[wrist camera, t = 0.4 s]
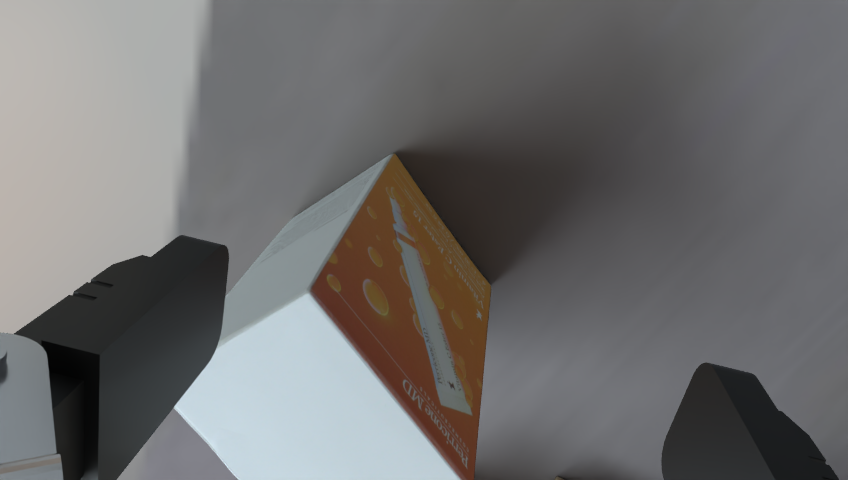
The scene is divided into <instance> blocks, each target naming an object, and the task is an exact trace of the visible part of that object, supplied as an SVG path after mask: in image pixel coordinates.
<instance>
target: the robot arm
mask: <svg viewBox="0 0 848 480" xmlns="http://www.w3.org/2000/svg"><path fill="white" fill-rule="evenodd" d="M228 263H229V253H228V249H227V247H226V246H225V245H221V244H217V243H213V242H209V241H205V240H200V239H196V238H192V237H188V236H184V235H181V236H178V237H177V238H175V239H174V240H173V241H171V242H170V243H169V244H168V245H166V246H165V247H164V248H162V249H161V250H160V251H158V252H157V253H156V254H154V255H153V256H152V257H148V256H144V255H141V256H138V257H135V258H132V259H129V260H125V261H122V262H119V263H116V264H113V265H111V266H110V267H108V268H107V269H106V270H104V271H103V272H101V273H100V274H98V275H97V276H96V277H94V278H93V279H92V280H91V282H90V283H88V282H87V283H86V284H84V285H83V286H81V287H80V288H79V289H77V290H76V291H74V293H73V295H68V296H67V297H66V298H64V299H63V300H61V301H60V302H58V303H57V304H56V305H54V306H53V307H51V308H50V309H48V310H47V311H46V312H44V313H43V314H41V315H40V316H39V317H37V318H36V319H34V320H33V321H31V322H30V323H29V324H27V325H26V326H24V327H23V328H21V329H20V330H19V331H17V332H16V333H14V334H8V333H0V480H117V478H118V477H119V476H120V474H121V473H122V472H123V471H124V469H125V468H126V467H127V466H128V464H129V463H130V462H131V460H132V459H133V458H134V457H135V456H136V454H137V453H138V452H139V451H140V449H141V448H142V447H143V445H144V444H145V443H146V442H147V440H148V439H149V438H150V437H151V435H152V434H153V433H154V432H155V430H156V429H157V428H158V426H159V425H160V424H161V423H162V421H163V420H164V419H165V418H166V416H167V415H168V414H169V413H170V411H171V410H172V409H173V408H174V406H175V405H176V404H177V402H178V401H179V400H180V399H181V397H182V396H183V395H184V394H185V392H186V391H187V390H188V389H189V387H190V386H191V385H192V383H193V382H194V381H195V380H196V378H197V377H198V376H199V375H200V373H201V372H202V371H203V370H204V368H205V367H206V366H207V365H208V363H209V362H210V360H211V359H212V357H213V355H214V353H215V350H216V348H217V345H218V342H219V339H220V335H221V330H222V323H223V313H224V303H225V293H226V283H227V273H228ZM825 461H826V460H825V458H824V457H823V455H822V454H821V452H820V451H819V449H818V448H817V447H816V445H815V444H814V442H813V441H812V439H811V438H810V436H809V435H808V434H807V433H806V432H804V431H803V430H802V429H801V428H800V427H799V426H798V425H797V424H795V423H794V422H793V421H792V420H791V419H790V418H789V417H787V416H786V415H785V414H784V413H783V412H782V411H778V409H777V408H776V406H775V405H774V403H773V402H772V400H771V399H770V397H769V395H768V394H767V392H766V391H765V389H764V388H763V386H762V385H761V383H760V382H759V380H758V379H757V377H756V376H755V375H754V374H752V373H748V372H744V371H740V370H736V369H731V368H727V367H723V366H719V365H715V364H711V363H703V364H701V365H700V366H699V367H698V368H697V369H696V371H695V373H694V375H693V377H692V379H691V381H690V383H689V386H688V388H687V390H686V393H685V395H684V397H683V399H682V402H681V404H680V406H679V409H678V411H677V413H676V415H675V418H674V420H673V422H672V425H671V427H670V429H669V431H668V434H667V436H666V439H665V442H664V446H663V451H662V473H663V477H664V480H839V479H838V477H837V476H836V474H835V473H834V471H833V470H832V468H831V467H830V466H829V465H826V464H825Z"/></svg>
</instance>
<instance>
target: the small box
mask: <svg viewBox="0 0 848 480" xmlns="http://www.w3.org/2000/svg"><path fill="white" fill-rule="evenodd" d="M490 296H491V286H490V284H489V283H488V281H487V280H486V279H485V278H484V277H483V275H482V274H481V273H480V272H479V270H478V269H477V268H476V266H475V265H474V264H473V262H472V261H471V260H470V258H469V257H468V256H467V254H466V253H465V252H464V250H463V249H462V248H461V246H460V245H459V244H458V242H457V241H456V239H455V238H454V236H453V235H452V234H451V232H450V231H449V230H448V228H447V227H446V226H445V224H444V223H443V221H442V220H441V219H440V217H439V216H438V214H437V213H436V212H435V210H434V209H433V207H432V206H431V204H430V203H429V202H428V200H427V199H426V197H425V196H424V194H423V193H422V192H421V190H420V189H419V187H418V186H417V185H416V183H415V182H414V180H413V179H412V177H411V176H410V174H409V173H408V171H407V170H406V169H405V167H404V166H403V164H402V163H401V161H400V160H399V158H398V157H397V155H396V154H394V153H392V154H390V155H388V156H387V157H385V158H384V159H382V160H381V161H379V162H378V163H376V164H375V165H373V166H372V167H370V168H369V169H367V170H366V171H364V172H363V173H361V174H360V175H358V176H356V177H355V178H353V179H352V180H350V181H349V182H347V183H346V184H344V185H343V186H341V187H340V188H338V189H337V190H335V191H334V192H332V193H330V194H329V195H327V196H326V197H324V198H323V199H321V200H320V201H318V202H317V203H315V204H314V205H312V206H311V207H309V208H307V209H306V210H304V211H303V212H301V213H300V214H298V215H297V216H295V217H294V218H292V219H291V220H290V221H289V222H288V223H287V224H286V225H285V227H284V228H283V229H282V230H281V231H280V232H279V234H278V235H277V236H276V237H275V238H274V239H273V241H272V242H271V243H270V244H269V245H268V247H267V248H266V249H265V250H264V251H263V252H262V254H261V255H260V256H259V257H258V258H257V259H256V261H255V262H254V263H253V264H252V266H251V267H250V268H249V269H248V270H247V272H246V273H245V274H244V275H243V276H242V278H241V279H240V280H239V281H238V282H237V284H236V285H235V286H234V287H233V288H232V290H231V291H230V292H229V293H228V294H227V295H226V297H225V303H224V313H223V323H222V330H221V335H220V339H219V342H218V345H217V348H216V350H215V353H214V355H213V357H212V359H211V360H210V362H209V363H208V365H207V366H206V367H205V368H204V370H203V371H202V372H201V373H200V375H199V376H198V377H197V378H196V380H195V381H194V382H193V383H192V385H191V386H190V387H189V389H188V390H187V391H186V392H185V394H184V395H183V396H182V397H181V399H180V400H179V401H178V402H177V404H176V405H175V406H174V409H175V410H176V411H177V412H178V413H179V414H180V415H181V416H182V417H183V418H184V419H185V420H186V422H187V423H188V424H189V425H190V426H191V427H192V428H193V429H194V430H195V431H196V432H197V433H198V434H199V435H200V436H201V437H202V438H203V440H204V441H205V442H206V443H207V444H208V445H209V446H210V447H211V448H212V449H213V451H214V452H215V453H216V454H217V455H218V457H219V458H220V459H221V460H222V461H223V463H224V464H225V465H226V466H227V467H228V469H229V470H230V471H231V472H232V473H233V475H234V476H235V477H236V478H237V479H238V480H474V472H475V460H476V449H477V438H478V427H479V417H480V406H481V395H482V385H483V373H484V362H485V350H486V340H487V328H488V318H489V307H490Z"/></svg>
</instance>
